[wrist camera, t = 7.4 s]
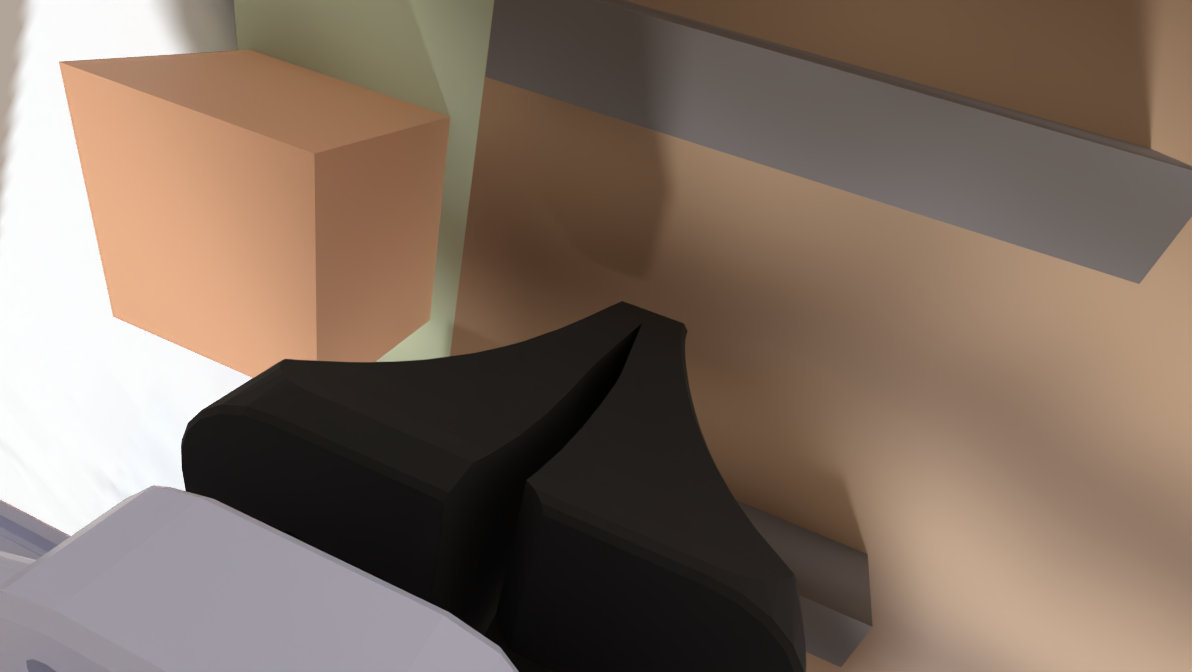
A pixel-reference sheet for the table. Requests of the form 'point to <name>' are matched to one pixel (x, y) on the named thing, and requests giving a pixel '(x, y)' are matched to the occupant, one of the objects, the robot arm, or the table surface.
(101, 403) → the table surface
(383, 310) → the terracotta block
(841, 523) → the board
